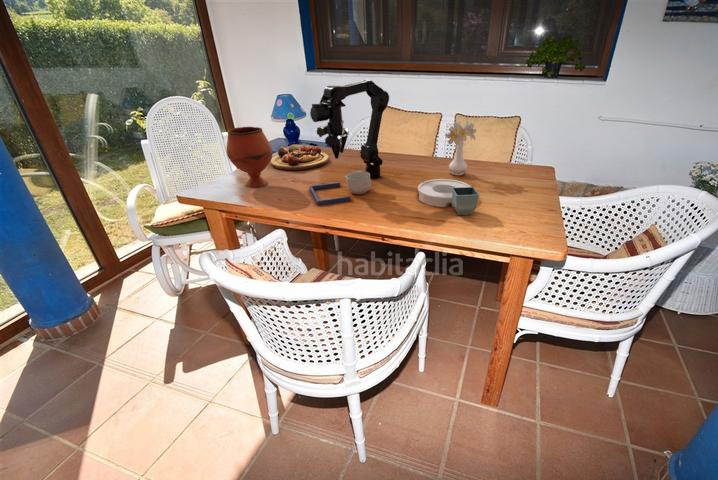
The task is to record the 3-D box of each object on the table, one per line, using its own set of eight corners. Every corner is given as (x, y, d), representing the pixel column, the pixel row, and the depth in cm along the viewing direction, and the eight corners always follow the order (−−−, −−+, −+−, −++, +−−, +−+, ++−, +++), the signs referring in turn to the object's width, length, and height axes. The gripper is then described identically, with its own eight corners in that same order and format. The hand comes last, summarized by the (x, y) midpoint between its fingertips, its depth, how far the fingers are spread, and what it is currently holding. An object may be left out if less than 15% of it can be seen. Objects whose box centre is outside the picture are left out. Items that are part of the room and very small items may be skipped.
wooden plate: (312, 173, 183) (310, 157, 179) (258, 168, 191) (255, 152, 186) (338, 156, 209) (337, 142, 204) (290, 153, 216) (288, 139, 212)
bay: (339, 185, 167) (339, 182, 166) (350, 200, 152) (350, 196, 151) (309, 189, 163) (309, 185, 162) (317, 205, 147) (317, 201, 146)
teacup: (367, 197, 155) (366, 179, 151) (343, 195, 157) (341, 177, 152) (375, 186, 166) (374, 169, 162) (353, 184, 168) (352, 168, 164)
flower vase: (440, 177, 176) (443, 124, 163) (450, 167, 190) (454, 117, 177) (465, 181, 172) (471, 126, 158) (474, 170, 186) (480, 119, 173)
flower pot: (449, 208, 144) (451, 187, 139) (471, 207, 145) (473, 186, 140) (454, 217, 137) (456, 195, 132) (477, 216, 137) (479, 194, 132)
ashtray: (406, 197, 154) (406, 188, 152) (438, 184, 169) (438, 175, 167) (451, 211, 141) (452, 202, 139) (481, 195, 156) (482, 186, 154)
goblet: (282, 186, 167) (272, 130, 153) (239, 194, 158) (224, 135, 145) (272, 175, 180) (262, 123, 167) (232, 181, 172) (218, 127, 159)
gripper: (323, 114, 161) (327, 149, 169) (310, 123, 145) (315, 161, 153) (347, 114, 160) (350, 150, 168) (337, 123, 144) (341, 161, 152)
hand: (339, 155), depth 161 cm, fingers open, 9 cm apart
